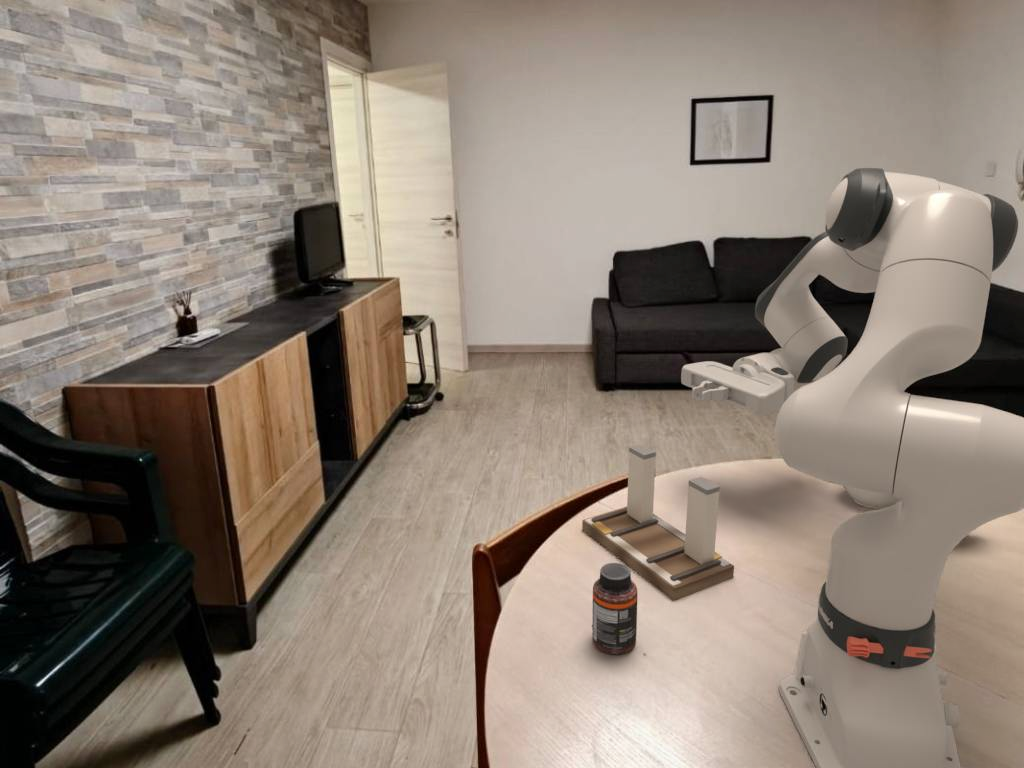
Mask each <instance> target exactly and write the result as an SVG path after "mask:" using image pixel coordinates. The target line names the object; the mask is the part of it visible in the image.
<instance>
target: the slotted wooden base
mask: <svg viewBox="0 0 1024 768" xmlns="http://www.w3.org/2000/svg"><path fill="white" fill-rule="evenodd" d="M581 522H582V524H581V526H582V529H581V530H582V531H583V532H584V533H585V534H587V535H588V536H589V537H591V538H592V539H593V540H595V542H597V543H598V544H599V545H600V546H602V547H603V548H605V549H606V550H607V551H609V553H611V554H613V555H614V557H616V558H618V559H619V560H620V561H621V562H623V563H624V564H626V566H627V567H628V568H629V567H630V568H631V569H632V570H633V571H635V572H636V573H637V574H638V575H640V576H641V577H642V578H644V579H645V580H646V581H648V582H649V583H650V584H651V585H652V586H654V587H655V588H656V589H658V590H659V591H661V592H662V593H663V594H665V595H666V596H667V597H669V598H670V599H671V600H672V601H675V600H678V599H681V598H683V597H686V596H688V595H691V594H694V593H696V592H697V593H698V592H699V591H701V590H703V589H706V588H708V587H713V585H717V584H720V583H721V582H724V581H727V580H730V579H731V578H734V573H735V565H734V564H732V563H731V562H729V561H727V560H726V559H725V558H723V557H722V555H720V554H719V553H717V552H716V551H715V553H714V560H713V561H711V562H708V563H705V564H703V565H701V564H700V563H698V562H697V561H695V560H694V559H692V558H691V557H689V556H688V555H687V554H685V553H684V550H685V534H686V533H684V532H682V531H681V530H680V529H678V528H676V527H675V526H674V525H671V524H670V523H668V522H667V521H665V520H664V519H662V518H661V517H659V516H658V515H656V514H655V513H653V519H652V520H649V521H646V522H643V523H640V522H638V521H637V520H635V519H634V518H632V517H631V516H629V515H628V514H627V506H625V507H621V508H617V509H614V510H611V511H608V512H604V513H602V514H598V515H594V516H591V517H588V518H586V519H584V518H583V519H582V521H581Z"/></svg>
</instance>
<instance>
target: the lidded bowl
mask: <svg viewBox="0 0 1024 768" xmlns="http://www.w3.org/2000/svg"><path fill="white" fill-rule="evenodd" d="M842 486H843V489H844V490H845V492H846V493H847V494H848V495H849V496H850V499H851V500H852V501H853V502H854V503H856V504H857V505H858V506H861V507H865V508H868V509H872V510H878V509H883V508H887V507H889V506H892V505H894V504H895V503H897V502H899V501H900V499H899V498H897V497H893V495H888V494H883V493H878V492H873V491H868V490H864V489H859V488H854V487H849V486H844V485H842Z"/></svg>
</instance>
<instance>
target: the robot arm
mask: <svg viewBox="0 0 1024 768" xmlns="http://www.w3.org/2000/svg"><path fill="white" fill-rule="evenodd" d="M824 226H825V231H824V232H821V233H819V235H817V236H816V237H814V238H813V239H811V240H810V241H809V242H808V243H807V244H806V245H805V246H804V247H803V248H802V249H801V250H800V252H798V254H797V255H795V257H794V258H793V259H792V261H791V262H790V263H789V264H788V265H787V266H786V268H785V269H784V270H783V271H782V272H781V274H780V275H779V276H778V277H777V278H776V279H775V280H774V281H773V282H772V283H770V285H768V286H767V287H766V288H764V290H763V291H762V292H761V293H760V294H759V295H758V297H757V299H756V302H755V309H754V317H755V319H756V320H757V321H759V322H760V324H761V325H762V326H763V327H764V328H765V329H766V330H767V331H768V332H769V333H770V335H771V336H772V338H774V340H775V341H776V342H777V344H778V345H779V347H780V348H776V349H774V350H772V351H770V352H759V353H756V354H751V355H747V356H744V357H743V356H742V357H741V358H739V359H737V360H736V361H735V362H734V363H733V365H732V366H730V365H726V364H724V363H721V362H718V361H713V360H711V361H709V360H707V361H700V362H694V363H687V364H684V365H683V366H682V368H681V375H680V379H681V380H680V381H681V382H680V383H681V384H682V385H684V386H685V387H688V388H691V390H692V391H691V396H692V398H695V399H697V400H700V401H702V402H703V403H704V402H705V403H706V402H708V401H716V402H717V401H719V402H720V401H722V402H723V401H724V402H726V403H729V404H731V405H733V406H736V407H738V408H741V409H744V410H745V411H749V412H751V413H753V414H755V415H761V416H763V415H764V416H768V415H771V414H775V413H778V414H777V416H776V421H775V426H774V437H775V442H776V446H777V450H778V452H779V455H780V456H781V458H782V460H783V461H784V463H785V464H786V465H787V466H788V467H789V468H792V469H793V470H796V471H798V472H800V473H804V474H805V475H807V476H811V477H813V478H817V479H818V480H821V481H823V482H826V483H830V484H836V485H840V486H843V485H844V486H849V487H854V488H859V489H864V490H868V491H873V492H878V493H883V494H888V495H893V497H897V498H899V499H900V501H899V502H897V503H895V504H893V505H892V506H889V507H887V508H883V509H872V510H868V511H864V512H860V513H858V514H856V515H853V516H851V517H850V518H848V519H845V520H844V521H843V522H842V523H840V525H838V527H837V528H836V530H835V531H834V532H833V535H832V537H831V544H830V551H829V559H828V567H827V573H826V581H825V582H824V583H823V585H822V586H821V589H820V593H819V596H818V600H817V619H816V620H815V621H814V622H813V623H812V624H811V625H810V626H808V627H807V628H806V629H805V630H804V631H803V632H802V633H801V636H800V641H799V645H798V646H799V647H798V651H797V656H796V661H795V667H794V671H793V674H791V675H788V676H786V677H783V678H782V679H781V680H780V682H779V684H778V685H779V686H778V692H779V694H780V696H781V698H782V700H783V702H784V704H785V706H786V709H787V711H788V712H789V715H790V717H791V719H792V721H793V723H794V725H795V727H796V728H797V731H798V734H799V736H800V738H801V739H802V741H803V743H804V746H805V747H806V750H807V752H808V753H809V756H810V758H811V760H812V762H813V763H814V766H815V768H961V763H960V758H959V754H958V748H957V744H956V740H955V739H956V738H955V734H954V729H953V727H954V728H955V727H959V722H960V709H959V706H958V705H956V704H954V703H950V702H947V701H946V700H945V699H944V698H943V694H942V686H941V685H944V686H945V685H947V682H948V675H947V672H946V671H942V670H939V668H938V662H937V655H936V652H937V645H936V644H935V643H936V641H935V640H936V637H937V626H936V614H935V610H934V604H935V599H936V595H937V592H938V587H939V584H940V580H941V576H942V574H943V570H944V569H945V565H946V563H947V561H948V558H949V556H950V555H951V553H952V552H953V550H954V549H955V547H957V545H959V544H960V543H961V542H960V541H961V540H962V539H963V538H964V539H965V537H967V536H968V535H969V534H971V533H972V532H973V531H975V530H976V529H978V528H981V526H983V525H985V524H987V523H989V522H992V521H995V520H997V519H999V518H1002V517H1005V516H1008V515H1012V514H1015V513H1018V512H1021V511H1022V510H1024V417H1023V416H1021V415H1016V414H1015V413H1012V412H1008V411H1004V410H1002V409H998V408H995V407H993V406H989V405H985V404H980V403H974V402H967V401H959V400H953V399H945V398H937V397H930V396H923V395H916V394H911V393H910V392H909V393H908V392H907V391H906V390H907V388H909V387H910V386H911V385H912V384H914V383H915V382H917V381H919V380H921V379H924V378H927V377H930V376H934V375H938V374H941V373H942V374H943V373H945V372H949V371H951V370H953V369H955V368H957V367H959V366H961V365H963V364H964V363H966V362H968V361H969V360H970V359H971V358H972V357H973V355H975V354H976V353H977V350H979V348H980V345H981V342H982V337H983V330H984V326H985V319H986V312H987V306H988V300H989V296H990V295H989V293H990V289H991V281H992V274H993V272H994V271H996V270H997V269H998V268H1000V266H1001V265H1002V264H1003V263H1004V262H1005V260H1006V259H1007V258H1008V256H1009V254H1010V253H1011V252H1010V251H1011V250H1012V248H1013V246H1014V243H1015V241H1016V237H1017V236H1018V231H1019V219H1018V215H1017V213H1016V209H1015V208H1014V206H1013V205H1012V204H1010V203H1009V202H1007V201H1005V200H1004V199H1001V198H1000V197H997V196H994V195H992V194H989V193H985V194H981V193H979V192H976V191H972V190H969V189H967V188H965V187H961V186H957V185H956V184H955V185H954V184H950V183H947V182H943V181H940V180H937V179H936V178H932V177H927V176H922V175H918V174H909V173H901V172H895V171H894V172H892V171H885V170H884V169H883V168H878V167H861V168H856V169H853V170H852V171H850V172H848V173H846V174H845V175H844V176H843V177H842V179H841V181H840V182H839V183H838V184H837V186H836V187H835V188H834V190H833V191H832V193H831V195H830V197H829V199H828V202H827V205H826V208H825V225H824ZM818 276H822V277H824V278H825V279H827V280H828V281H830V282H831V283H832V284H834V285H835V286H836V287H838V288H840V289H843V290H846V291H849V292H853V293H860V294H861V293H862V294H869V293H874V296H873V297H874V298H873V302H872V304H871V308H870V313H869V315H868V319H867V322H866V325H865V328H864V331H863V333H862V336H861V337H860V339H859V341H858V342H857V344H856V345H855V347H854V348H853V350H851V353H850V354H849V355H847V357H846V354H847V351H848V345H849V344H848V343H849V341H848V337H847V336H846V335H845V334H844V331H842V330H841V328H840V327H839V326H838V324H837V323H836V322H835V321H834V320H833V319H832V318H831V316H830V315H829V314H828V313H827V312H826V310H824V308H823V307H822V306H821V305H820V303H819V302H818V301H817V300H816V299H815V298H814V296H813V294H812V292H811V290H810V286H809V285H810V284H811V283H812V282H813V281H814V280H815V279H816V278H817V277H818ZM845 357H846V358H845ZM905 391H906V392H905ZM959 542H960V543H959Z"/></svg>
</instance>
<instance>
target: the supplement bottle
mask: <svg viewBox="0 0 1024 768" xmlns="http://www.w3.org/2000/svg"><path fill="white" fill-rule="evenodd" d="M631 572H632V571H631V569H630V568H629V566H628V565H625V564H622V563H618V562H610V563H605V564H604V565H602V566H601V568H600V570H599V574H600V575H599V578H598V579H597V580H596V581H594V583H593V587H592V625H591V629H592V633H591V634H592V641H593V644H594V645H595V647H596V648H597V649H598V650H599V651H600V652H604V653H607V654H611V655H622V654H626V653H628V652H630V651H632V650H633V649H634V647H635V646H636V643H637V642H636V641H637V628H638V627H637V624H638V623H637V621H638V587H637V585H636V583H635V582H634V581H633V579H632V578H631V576H632V575H631Z"/></svg>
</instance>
